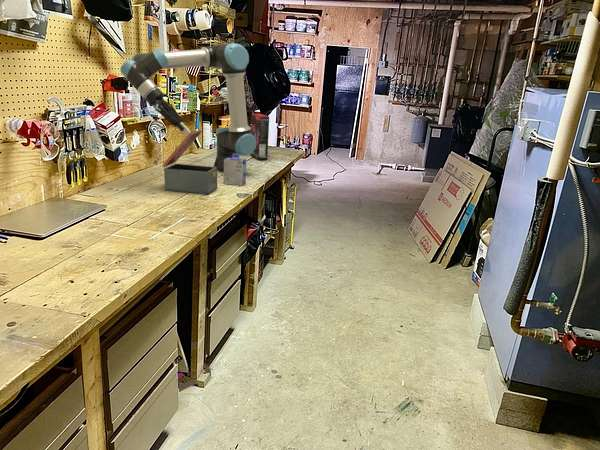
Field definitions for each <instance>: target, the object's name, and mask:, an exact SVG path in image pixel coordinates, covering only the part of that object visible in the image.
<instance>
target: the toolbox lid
mask: <svg viewBox="0 0 600 450" xmlns="http://www.w3.org/2000/svg"><path fill="white" fill-rule="evenodd" d="M201 133H203V131H202V129H197V130H194V131H190V133H189V134H188V136H187V137H186V136H185V138H184V139H183V140H182V141H181V143H179V145H178V146H177V147H176V149H174V150H173V152H172V153H171V154H170V155H169V156H168V157H167V159H166V160H165V161H164V162H163V164H162V165H161V166H162V167H163V168H166V167H169V166H171V165H173V164H176V162H178V160H179V159H180V158H181V157H182V155H184V153H186V151H187V149H188V148H189V147H190V146H191V145H192V144H193V143H194V142H195V140H196V139H197V138H198V137H199V136H201V135H200V134H201Z"/></svg>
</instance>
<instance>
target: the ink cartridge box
mask: <svg viewBox="0 0 600 450" xmlns="http://www.w3.org/2000/svg"><path fill="white" fill-rule="evenodd" d="M234 155H237V156H238V157H234ZM240 156H241V155H240V154H234V153H233V155H232V158H226V159H224V172H223V184H225V185H233V186H234V185H235V186H244V185H246V184H247V180H246V179H247V159H246V158H240Z"/></svg>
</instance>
